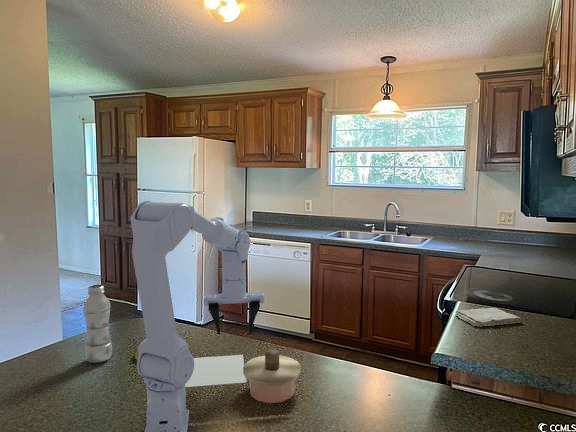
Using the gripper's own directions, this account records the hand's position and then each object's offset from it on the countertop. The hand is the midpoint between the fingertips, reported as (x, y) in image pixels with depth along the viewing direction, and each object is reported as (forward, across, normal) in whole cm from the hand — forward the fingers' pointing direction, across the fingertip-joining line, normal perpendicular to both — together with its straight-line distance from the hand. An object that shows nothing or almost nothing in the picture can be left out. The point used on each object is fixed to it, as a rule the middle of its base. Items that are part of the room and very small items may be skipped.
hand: (234, 331), depth 104 cm
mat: (+10, +5, -1) cm, 12 cm away
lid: (+5, -8, +11) cm, 14 cm away
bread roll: (+11, +22, -12) cm, 27 cm away
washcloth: (+11, -86, -24) cm, 90 cm away
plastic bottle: (+11, +35, -12) cm, 38 cm away
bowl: (+10, -8, +11) cm, 17 cm away
